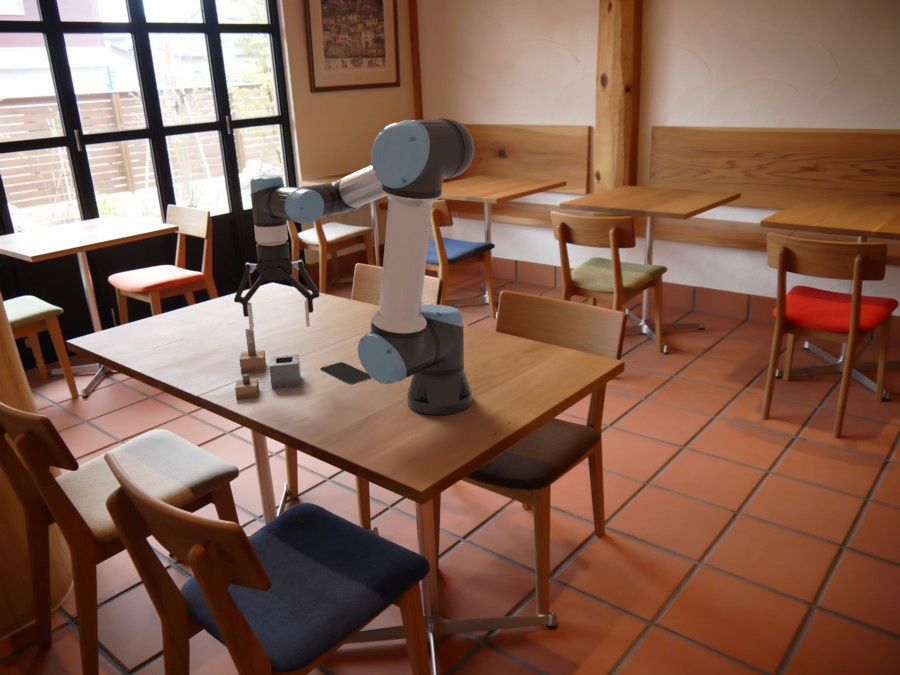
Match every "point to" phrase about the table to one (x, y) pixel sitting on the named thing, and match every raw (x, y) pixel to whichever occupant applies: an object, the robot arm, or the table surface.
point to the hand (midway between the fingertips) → (280, 327)
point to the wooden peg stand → (252, 356)
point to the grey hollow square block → (285, 371)
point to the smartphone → (345, 373)
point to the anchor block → (247, 388)
